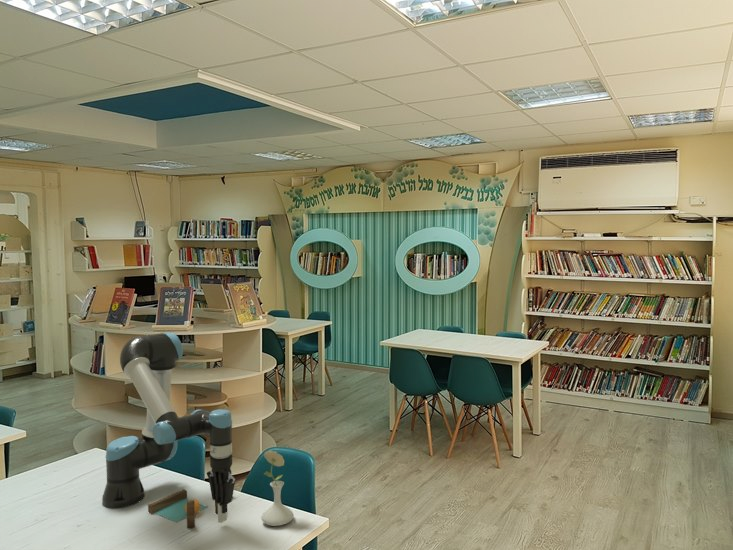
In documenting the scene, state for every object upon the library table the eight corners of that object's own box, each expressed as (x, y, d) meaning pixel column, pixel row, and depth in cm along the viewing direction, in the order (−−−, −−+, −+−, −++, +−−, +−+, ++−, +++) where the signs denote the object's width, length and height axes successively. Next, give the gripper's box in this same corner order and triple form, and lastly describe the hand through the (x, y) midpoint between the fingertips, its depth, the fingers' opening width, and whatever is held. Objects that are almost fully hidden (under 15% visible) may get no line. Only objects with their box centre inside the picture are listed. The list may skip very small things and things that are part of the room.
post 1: (185, 527, 194) (185, 502, 193) (191, 524, 196) (191, 499, 196) (190, 529, 192) (189, 504, 192) (196, 526, 195) (196, 501, 194)
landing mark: (152, 512, 205) (152, 511, 205) (183, 498, 217) (183, 497, 217) (176, 522, 197) (176, 521, 197) (207, 507, 209) (207, 506, 209)
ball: (184, 519, 202) (179, 504, 203) (196, 513, 206) (192, 498, 207) (193, 516, 199) (188, 501, 200) (205, 510, 203) (200, 495, 204)
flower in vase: (300, 521, 198) (299, 452, 197) (274, 532, 190) (272, 461, 189) (278, 509, 207) (277, 443, 206) (252, 519, 199) (251, 451, 198)
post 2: (213, 513, 204) (213, 489, 204) (219, 510, 206) (218, 486, 206) (218, 514, 203) (218, 490, 202) (224, 512, 205) (223, 488, 205)
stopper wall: (148, 512, 205) (148, 504, 205) (183, 496, 218) (183, 489, 218) (151, 514, 204) (151, 506, 204) (187, 497, 217) (187, 490, 217)
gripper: (200, 454, 194) (201, 520, 195) (225, 462, 187) (226, 530, 188) (216, 448, 200) (218, 512, 201) (242, 455, 193) (243, 521, 194)
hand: (222, 520), depth 194 cm, fingers closed
